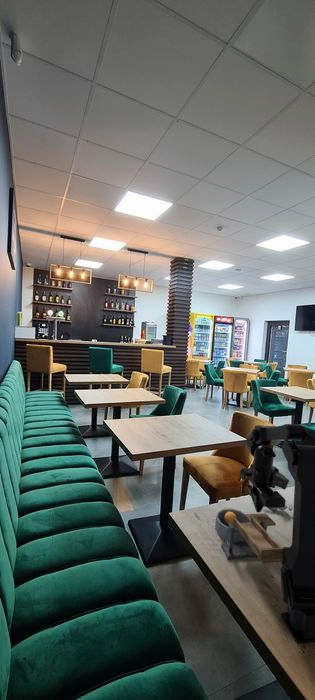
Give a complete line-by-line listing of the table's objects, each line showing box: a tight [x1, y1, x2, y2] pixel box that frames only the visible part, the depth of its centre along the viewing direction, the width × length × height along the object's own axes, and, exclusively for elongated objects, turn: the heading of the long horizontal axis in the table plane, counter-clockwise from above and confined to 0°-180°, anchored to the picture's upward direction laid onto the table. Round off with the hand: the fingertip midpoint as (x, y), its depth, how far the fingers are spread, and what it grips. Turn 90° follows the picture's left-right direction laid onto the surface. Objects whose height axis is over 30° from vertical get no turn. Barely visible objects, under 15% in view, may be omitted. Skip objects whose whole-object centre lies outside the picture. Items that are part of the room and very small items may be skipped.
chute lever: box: [233, 512, 285, 564], centre depth 87 cm, size 22×14×3 cm, turn 10°
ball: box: [224, 512, 237, 525], centre depth 102 cm, size 4×4×4 cm
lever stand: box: [220, 522, 268, 560], centre depth 90 cm, size 5×13×8 cm, turn 100°
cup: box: [214, 508, 248, 543], centre depth 99 cm, size 11×11×4 cm
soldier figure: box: [269, 502, 294, 512], centre depth 113 cm, size 8×5×12 cm
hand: (258, 511), depth 98 cm, fingers closed
